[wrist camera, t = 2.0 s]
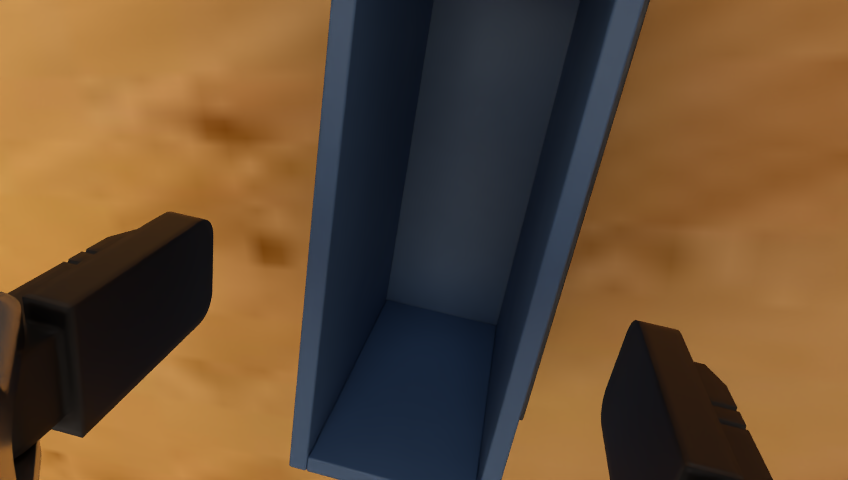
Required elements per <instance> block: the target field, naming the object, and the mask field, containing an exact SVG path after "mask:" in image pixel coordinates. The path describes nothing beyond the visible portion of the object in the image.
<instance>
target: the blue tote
mask: <svg viewBox="0 0 848 480" xmlns="http://www.w3.org/2000/svg"><path fill="white" fill-rule="evenodd" d="M644 1H645V0H331V11H330V22H329V33H328V44H327V55H326V66H325V77H324V88H323V99H322V110H321V121H320V132H319V143H318V154H317V166H316V177H315V188H314V199H313V210H312V221H311V232H310V243H309V254H308V265H307V276H306V287H305V298H304V309H303V320H302V331H301V342H300V353H299V364H298V375H297V386H296V397H295V409H294V420H293V431H292V442H291V453H290V466H291V467H295V468H298V469H302V470H306V469H307V471H309V472H313V473H317V474H320V475H324V476H328V477H331V478H335V479H339V480H501V479H502V476H503V472H504V469H505V466H506V462H507V459H508V456H509V452H510V449H511V446H512V442H513V439H514V435H515V432H516V429H517V425H518V422H519V419H520V415H521V412H522V409H523V405H524V402H525V399H526V395H527V392H528V389H529V385H530V382H531V379H532V375H533V372H534V369H535V365H536V362H537V359H538V355H539V352H540V349H541V345H542V342H543V339H544V335H545V332H546V329H547V325H548V322H549V319H550V315H551V312H552V309H553V305H554V302H555V299H556V295H557V292H558V289H559V285H560V282H561V279H562V275H563V272H564V268H565V265H566V262H567V258H568V255H569V252H570V248H571V245H572V242H573V238H574V235H575V232H576V228H577V225H578V222H579V218H580V215H581V212H582V208H583V205H584V202H585V198H586V195H587V192H588V188H589V185H590V182H591V178H592V175H593V172H594V168H595V165H596V162H597V158H598V155H599V152H600V148H601V145H602V142H603V138H604V135H605V132H606V128H607V125H608V122H609V118H610V115H611V112H612V108H613V105H614V101H615V98H616V95H617V91H618V88H619V85H620V81H621V78H622V75H623V71H624V68H625V65H626V61H627V58H628V55H629V51H630V48H631V45H632V41H633V38H634V35H635V31H636V28H637V25H638V21H639V18H640V15H641V11H642V8H643V5H644Z"/></svg>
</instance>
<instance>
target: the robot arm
mask: <svg viewBox="0 0 848 480" xmlns="http://www.w3.org/2000/svg"><path fill="white" fill-rule="evenodd" d="M212 278H213V228H212V225H211V223H210V222H209V221H208V220H205V219H200V218H196V217H192V216H187V215H183V214H179V213H174V212H166V213H164V214H162V215H161V216H159V217H157V218H156V219H154V220H152V221H150V222H149V223H147V224H145V225H143V226H142V227H140V228H138V229H136V230H132V231H128V232H125V233H121V234H118V235H114V236H110V237H107V238H106V239H104V240H102V241H100V242H98V243H97V244H95V245H93V246H91V247H89V248H88V249H86V252H81V253H79V254H77V255H75V256H73V257H72V258H70V259H69V261H68V263H67V262H63V263H61V264H59V265H57V266H56V267H54V268H52V269H50V270H49V271H47V272H45V273H43V274H41V275H40V276H38V277H36V278H34V279H33V280H31V281H29V282H27V283H25V284H24V285H22V286H20V287H18V288H17V289H15V290H13V291H11V292H9V293H8V294H7V293H4V292H0V480H39V476H40V464H41V446H40V438H42V437H43V436H44V435H45V434H46V433H47V432H48V431H49V430H51V429H53V430H56V431H60V432H63V433H67V434H71V435H74V436H78V437H82V438H83V437H84V436H85V435H86V434H87V433H88V432H89V431H90V430H91V429H92V428H93V427H94V426H95V425H96V424H97V423H98V422H99V421H100V420H101V419H102V418H103V417H104V416H105V415H106V414H107V413H108V412H109V411H111V410H112V409H113V408H114V407H115V406H116V405H117V404H118V403H119V402H120V401H121V400H122V399H123V398H124V397H125V396H126V395H127V394H128V393H129V392H130V391H131V390H132V389H133V388H134V387H135V386H136V385H137V384H138V383H139V382H140V381H141V380H142V379H143V378H144V377H145V376H146V375H147V374H148V373H150V372H151V371H152V370H153V369H154V368H155V367H156V366H157V365H158V364H159V363H160V362H161V361H162V360H163V359H164V358H165V357H166V356H167V355H168V354H169V353H170V352H171V351H172V350H173V349H174V348H175V347H176V346H177V345H178V344H179V343H180V342H181V341H182V340H183V339H184V338H185V337H186V336H187V335H188V334H190V333H191V332H192V331H193V330H194V329H195V328H196V327H197V326H198V325H199V324H200V323H201V321H202V320H203V319H204V317H205V315H206V313H207V311H208V308H209V306H210V302H211V298H212ZM736 410H737V406H736V404H735V402H734V400H733V398H732V396H731V394H730V392H729V390H728V388H727V386H726V385H725V384H724V383H723V382H722V381H721V380H720V379H719V378H718V377H717V376H716V375H715V374H714V373H713V372H712V371H711V370H710V369H709V368H708V367H707V366H706V365H705V364H701V363H697V362H693V360H692V357H691V355H690V353H689V351H688V348H687V346H686V344H685V341H684V339H683V337H682V335H681V333H680V331H679V330H676V329H672V328H667V327H663V326H659V325H654V324H650V323H646V322H642V321H637V320H635V321H633V322H632V323H631V325H630V327H629V329H628V331H627V333H626V336H625V339H624V341H623V344H622V347H621V349H620V352H619V355H618V358H617V360H616V363H615V366H614V368H613V371H612V374H611V377H610V379H609V382H608V385H607V387H606V390H605V394H604V398H603V403H602V411H601V425H602V432H603V438H604V444H605V451H606V457H607V463H608V469H609V476H610V480H773V479H772V477H771V475H770V473H769V471H768V469H767V467H766V465H765V463H764V461H763V459H762V457H761V455H760V453H759V451H758V449H757V447H756V445H755V443H754V441H753V439H752V436H751V434H750V432H749V431H748V430H746V424H745V422H744V420H743V418H742V416H741V414H740V412H738V411H736Z"/></svg>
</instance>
